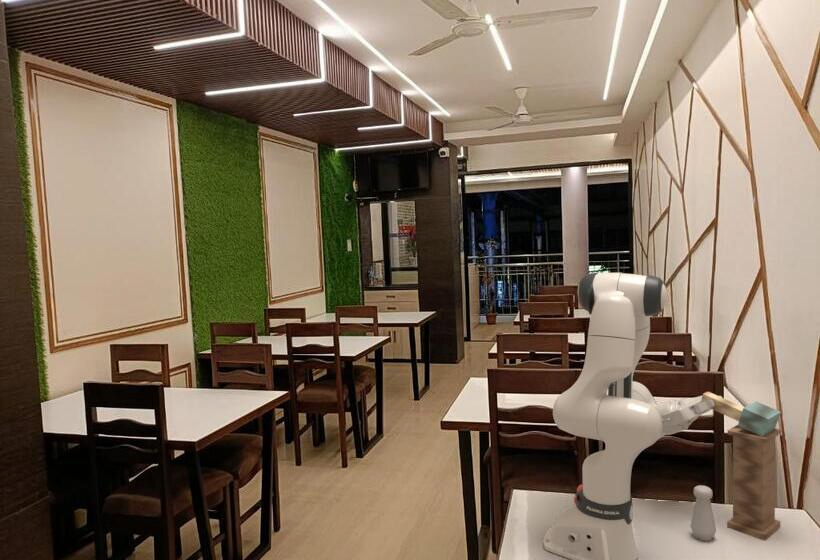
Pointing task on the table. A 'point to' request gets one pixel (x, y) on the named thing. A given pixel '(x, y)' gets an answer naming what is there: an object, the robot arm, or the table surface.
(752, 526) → the pedestal
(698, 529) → the salt shaker
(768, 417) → the mallet
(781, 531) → the table surface
